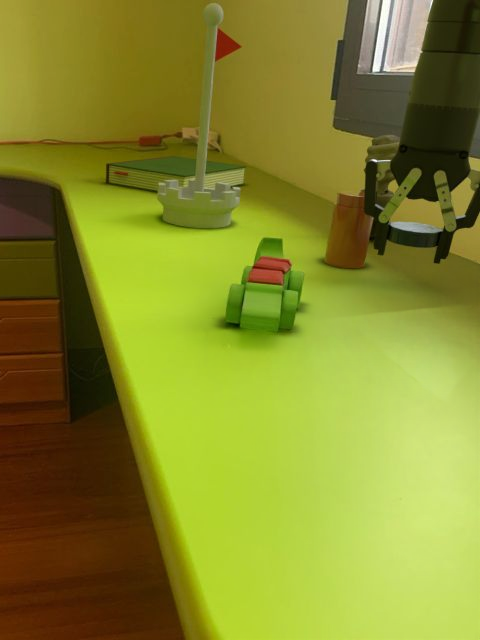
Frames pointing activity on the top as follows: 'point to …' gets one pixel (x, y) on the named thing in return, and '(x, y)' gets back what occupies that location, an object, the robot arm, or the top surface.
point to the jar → (348, 231)
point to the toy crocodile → (266, 291)
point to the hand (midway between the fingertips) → (408, 257)
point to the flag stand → (203, 149)
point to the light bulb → (385, 150)
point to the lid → (414, 234)
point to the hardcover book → (170, 172)
